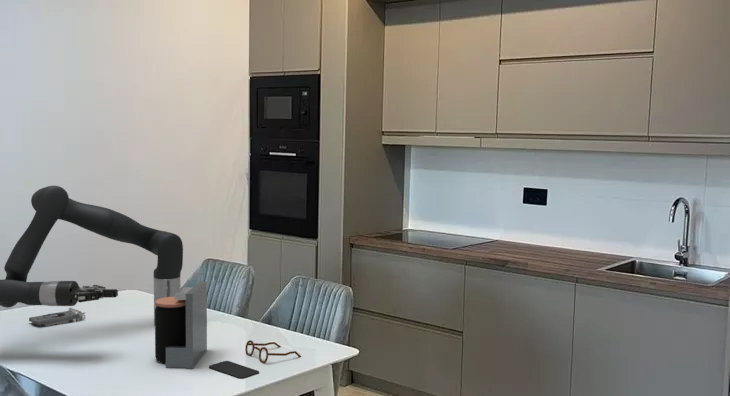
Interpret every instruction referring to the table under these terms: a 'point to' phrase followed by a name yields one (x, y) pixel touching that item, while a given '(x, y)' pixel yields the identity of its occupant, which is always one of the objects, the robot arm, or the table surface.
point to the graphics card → (58, 318)
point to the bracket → (191, 328)
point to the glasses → (266, 350)
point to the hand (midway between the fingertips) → (117, 293)
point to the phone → (233, 369)
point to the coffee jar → (169, 325)
